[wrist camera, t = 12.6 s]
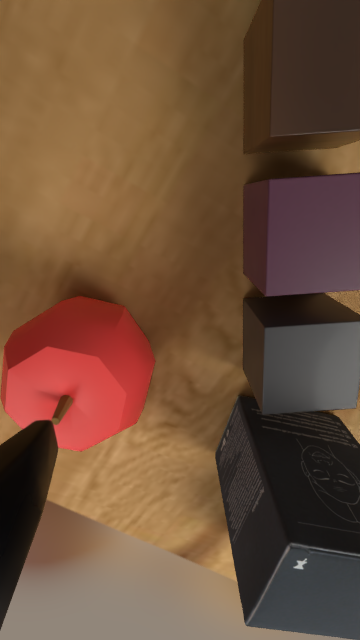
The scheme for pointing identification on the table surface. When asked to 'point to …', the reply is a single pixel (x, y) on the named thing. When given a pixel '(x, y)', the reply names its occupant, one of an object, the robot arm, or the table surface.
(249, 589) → the box
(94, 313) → the apple
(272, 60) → the block
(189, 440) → the table surface
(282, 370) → the block
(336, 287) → the block
